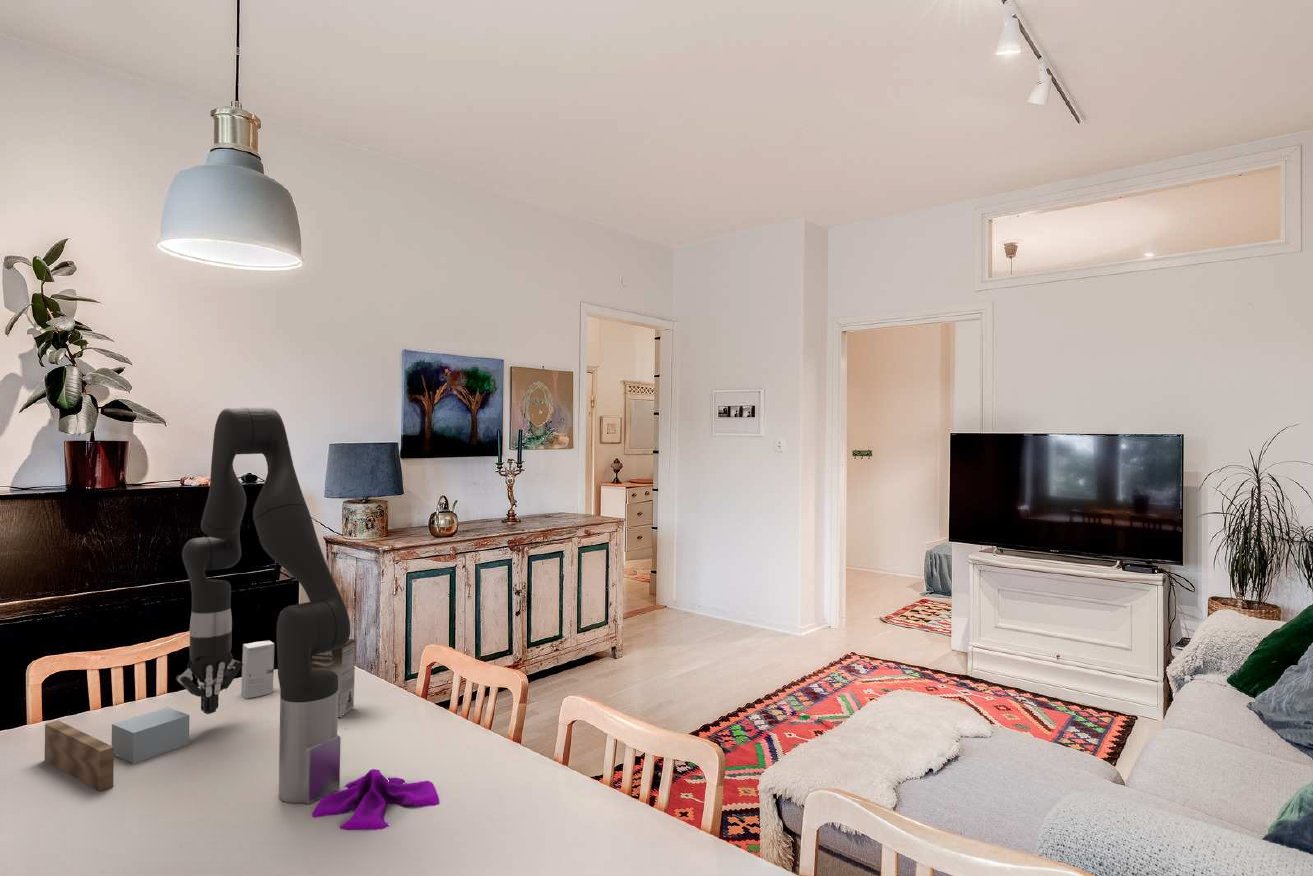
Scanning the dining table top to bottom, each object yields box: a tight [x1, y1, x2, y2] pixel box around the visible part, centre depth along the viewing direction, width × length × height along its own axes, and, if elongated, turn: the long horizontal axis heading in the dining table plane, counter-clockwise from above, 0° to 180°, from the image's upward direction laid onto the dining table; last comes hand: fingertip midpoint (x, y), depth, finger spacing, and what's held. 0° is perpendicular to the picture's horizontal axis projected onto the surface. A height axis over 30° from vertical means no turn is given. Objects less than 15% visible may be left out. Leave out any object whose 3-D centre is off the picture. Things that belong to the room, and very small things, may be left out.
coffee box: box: [310, 638, 356, 718], centre depth 159 cm, size 9×6×16 cm
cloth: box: [311, 768, 440, 831], centre depth 122 cm, size 22×19×6 cm
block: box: [111, 707, 191, 764], centre depth 139 cm, size 8×10×6 cm
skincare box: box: [240, 639, 275, 700], centre depth 169 cm, size 6×4×12 cm
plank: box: [44, 719, 115, 792], centre depth 129 cm, size 22×2×7 cm, turn 60°
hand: (209, 712), depth 149 cm, fingers closed
